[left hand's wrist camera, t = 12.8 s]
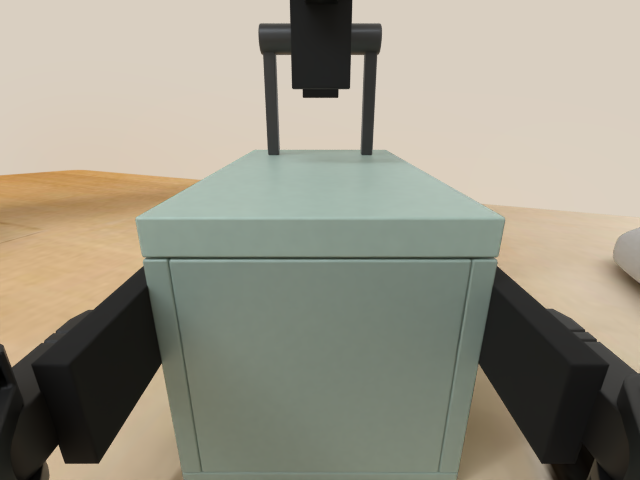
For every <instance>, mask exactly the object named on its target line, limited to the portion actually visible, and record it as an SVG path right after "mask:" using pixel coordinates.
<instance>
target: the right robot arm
mask: <svg viewBox="0 0 640 480" xmlns="http://www.w3.org/2000/svg"><path fill="white" fill-rule="evenodd" d="M290 22H291V61H292V88H293V89H303V98H338V89H349V88H350V65H351V27H352V0H290Z"/></svg>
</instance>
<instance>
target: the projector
mask: <svg viewBox="0 0 640 480" xmlns="http://www.w3.org/2000/svg"><path fill="white" fill-rule="evenodd" d="M613 259H614V261H615V262H616V263H617V265H618V266H619V267H620V268H622V269H623V270H624V271H625V272H626V273H627V274H629V275H630V276H631V277H632V278H634V279H635V280H636V281H637V282H639V283H640V228H636V229H634V230H631V231H629V232H626V233H624V234H622V235H621V236H620V237H619V238H618V239H617V242H616V244H615V247H614V251H613Z"/></svg>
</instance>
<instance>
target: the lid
mask: <svg viewBox="0 0 640 480" xmlns="http://www.w3.org/2000/svg"><path fill="white" fill-rule="evenodd" d="M381 41H382V27H381V24H352V27H351V55H364V78H363V104H362V130H361V150H280V146H279V121H278V94H277V67H276V55H291V24H260V25H259V46H260V51H261V54H262V55H263V59H264V79H265V100H266V121H267V140H268V150H254V151H252V152H250V153H248V154H246V155H245V156H243V157H241V158H239V159H238V160H236V161H234V162H232V163H231V164H229V165H227V166H225V167H224V168H222V169H220V170H218V171H217V172H215V173H213V174H211V175H210V176H208V177H206V178H204V179H203V180H201V181H199V182H197V183H196V184H194V185H192V186H190V187H189V188H187V189H185V190H183V191H181V192H180V193H178V194H176V195H174V196H173V197H171V198H169V199H167V200H166V201H164V202H162V203H160V204H159V205H157V206H155V207H153V208H152V209H150V210H148V211H146V212H145V213H143V214H141V215H139V216H138V217H136V226H137V231H138V236H139V242H140V247H141V253H142V256H143V257H498V255H499V250H500V245H501V240H502V234H503V229H504V224H505V218H504V217H503V216H501V215H499V214H498V213H496V212H494V211H492V210H491V209H489V208H487V207H485V206H484V205H482V204H480V203H478V202H476V201H475V200H473V199H471V198H469V197H468V196H466V195H464V194H462V193H461V192H459V191H457V190H455V189H454V188H452V187H450V186H448V185H447V184H445V183H443V182H441V181H440V180H438V179H436V178H434V177H432V176H431V175H429V174H427V173H425V172H424V171H422V170H420V169H418V168H417V167H415V166H413V165H411V164H410V163H408V162H406V161H404V160H403V159H401V158H399V157H397V156H396V155H394V154H392V153H390V152H388V151H387V150H372V148H373V127H374V107H375V87H376V67H377V55H378V54H379V52H380V48H381Z"/></svg>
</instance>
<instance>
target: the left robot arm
mask: <svg viewBox="0 0 640 480" xmlns="http://www.w3.org/2000/svg"><path fill="white" fill-rule="evenodd" d="M161 364H162V361H161V355H160V350H159V345H158V339H157V334H156V329H155V323H154V318H153V312H152V307H151V302H150V296H149V291H148V286H147V281H146V276H145V270H144V266H143V267H142V268H141V269H140V270H138V271H137V272H136V273H135V274H134V275H133V276H132V277H130V278H129V279H128V280H127V281H126V282H125V283H124V284H122V285H121V286H120V287H119V288H118V289H117V290H116V291H114V292H113V293H112V294H111V295H110V296H109V297H108V298H106V299H105V300H104V301H103V302H102V303H101V304H100V305H98V306H97V307H96V308H95V309H94V310H87V311H85V312H84V313H82V314H80V315H78V316H76V317H74V318H72V319H70V320H69V321H67V322H66V323H65V324H64V325H63V326H61V327H60V328H59V329H58V330H57V331H56V333H53V334H52V335H51V336H49V337H48V338H47V339H46V340H45V341H44V343H41V344H40V345H39V346H37V347H36V348H35V349H34V350H33V351H31V352H30V353H29V354H28V355H27V356H25V357H24V358H23V359H22V360H21V361H19V362H18V363H17V364H16V365H15V366H13V367H11V365H10V362H9V359H8V357H7V354H6V351H5V348H4V346H3V345H2V344H0V480H49V469H48V465H47V463H46V460H47V458H48V457H49V456H50V454H51V453H52V452H53V451H54V449H55V448H56V447H57V446H58V445H59V447H60V450H61V453H62V456H63V459H64V462H65V464H99V462H100V461H101V459H102V458H103V456H104V454H105V453H106V451H107V450H108V448H109V446H110V445H111V443H112V442H113V440H114V438H115V437H116V435H117V434H118V432H119V430H120V429H121V427H122V426H123V424H124V422H125V421H126V419H127V418H128V416H129V415H130V413H131V411H132V410H133V408H134V407H135V405H136V403H137V402H138V400H139V399H140V397H141V395H142V394H143V392H144V391H145V389H146V387H147V386H148V384H149V383H150V381H151V380H152V378H153V376H154V375H155V373H156V372H157V370H158V368H159V367H160V365H161ZM479 365H480V366H481V368H482V369H483V371H484V373H485V374H486V376H487V377H488V379H489V380H490V382H491V384H492V385H493V387H494V388H495V390H496V392H497V393H498V395H499V396H500V398H501V400H502V401H503V403H504V404H505V406H506V408H507V409H508V411H509V412H510V414H511V415H512V417H513V419H514V420H515V422H516V423H517V425H518V427H519V428H520V430H521V431H522V433H523V435H524V436H525V438H526V439H527V441H528V442H529V444H530V446H531V447H532V449H533V450H534V452H535V454H536V455H537V457H538V458H539V460H540V462H541V463H542V464H576V461H577V458H578V455H579V452H580V449H581V446H582V443H583V444H584V446H585V447H586V448H587V449H588V451H589V452H590V453H591V454H592V456H593V457H594V458H595V460H594V463H593V465H592V468H591V471H590V473H589V476H588V479H587V480H640V373H637V372H635V371H634V370H633V369H632V368H631V367H629V366H628V365H627V364H626V363H625V362H623V361H622V360H621V359H620V358H619V357H617V356H616V355H615V354H614V353H612V352H611V351H610V350H609V349H608V348H606V347H605V346H604V345H603V344H602V343H600V342H597V339H595V338H594V337H593V336H592V335H591V334H589V333H588V332H585V329H583V328H582V327H581V326H580V325H579V324H577V323H576V322H575V321H574V320H572V319H571V318H569V317H567V316H565V315H563V314H562V313H560V312H558V311H556V310H554V309H546V308H544V307H543V306H542V305H541V304H540V303H539V302H537V301H536V300H535V299H534V298H533V297H532V296H531V295H529V294H528V293H527V292H526V291H525V290H524V289H523V288H521V287H520V286H519V285H518V284H517V283H516V282H515V281H513V280H512V279H511V278H510V277H509V276H508V275H507V274H505V273H504V272H503V271H502V270H501V269H500V268H499V267H497V268H496V273H495V278H494V284H493V288H492V293H491V299H490V304H489V310H488V315H487V320H486V326H485V331H484V336H483V342H482V347H481V352H480V358H479Z"/></svg>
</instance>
